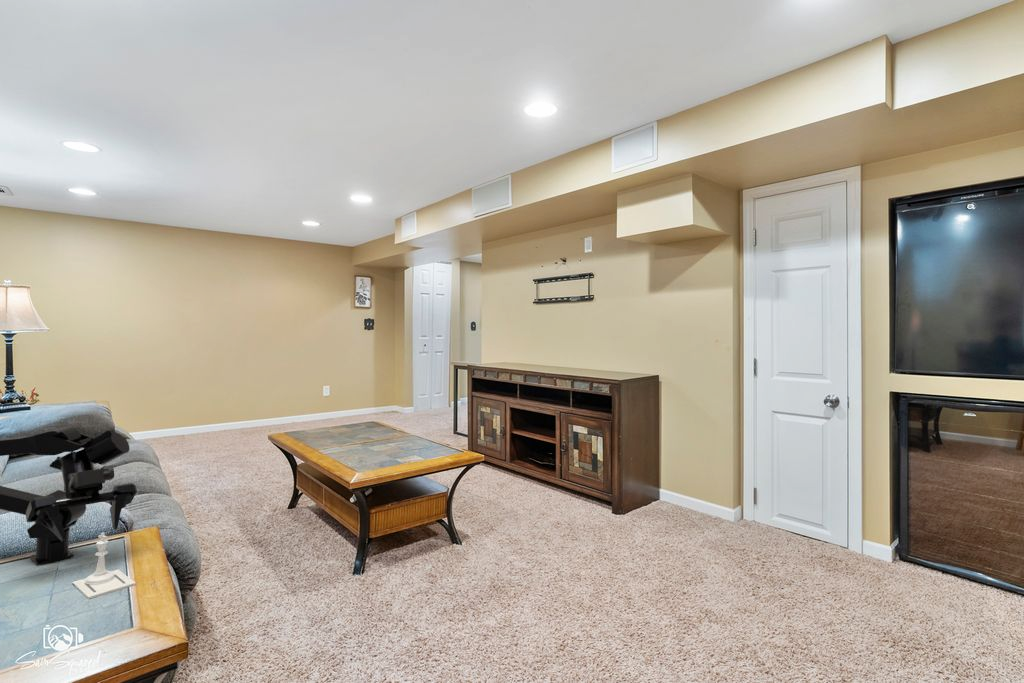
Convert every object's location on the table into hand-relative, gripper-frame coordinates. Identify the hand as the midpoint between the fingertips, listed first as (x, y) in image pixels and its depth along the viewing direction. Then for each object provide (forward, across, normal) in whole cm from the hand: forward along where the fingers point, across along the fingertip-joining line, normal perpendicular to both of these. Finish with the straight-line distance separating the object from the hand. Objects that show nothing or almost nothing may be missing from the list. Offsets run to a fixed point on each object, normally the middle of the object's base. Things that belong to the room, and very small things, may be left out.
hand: (90, 534), depth 111 cm
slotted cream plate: (+12, +1, 0) cm, 12 cm away
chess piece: (+10, 0, +1) cm, 11 cm away
